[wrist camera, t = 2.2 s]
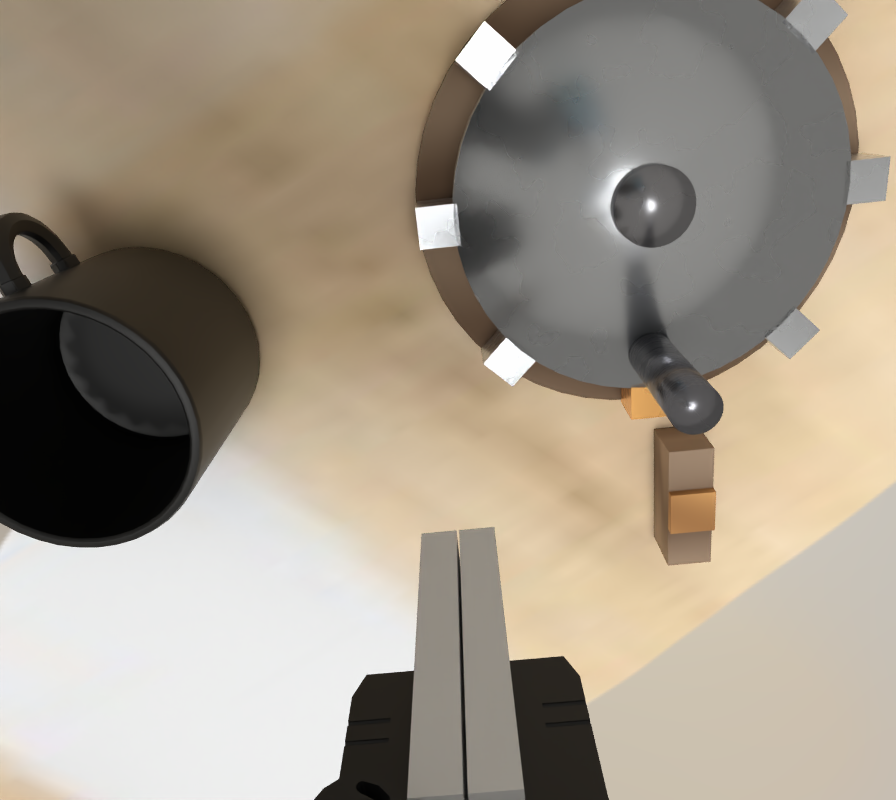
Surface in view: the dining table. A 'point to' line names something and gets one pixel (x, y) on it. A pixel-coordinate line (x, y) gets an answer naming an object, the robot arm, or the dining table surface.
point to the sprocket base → (514, 21)
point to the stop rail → (683, 496)
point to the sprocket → (651, 192)
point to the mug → (112, 387)
